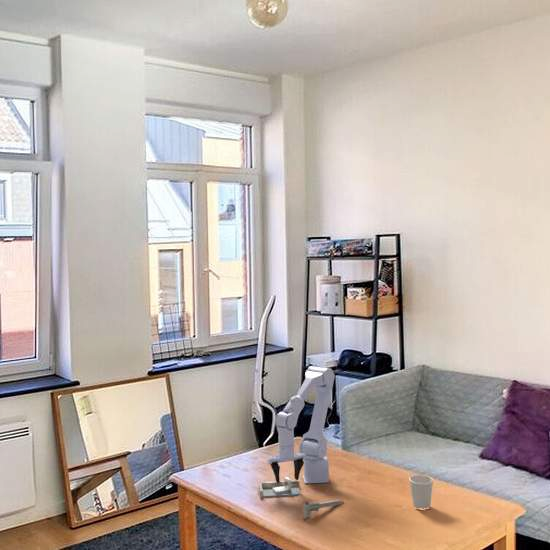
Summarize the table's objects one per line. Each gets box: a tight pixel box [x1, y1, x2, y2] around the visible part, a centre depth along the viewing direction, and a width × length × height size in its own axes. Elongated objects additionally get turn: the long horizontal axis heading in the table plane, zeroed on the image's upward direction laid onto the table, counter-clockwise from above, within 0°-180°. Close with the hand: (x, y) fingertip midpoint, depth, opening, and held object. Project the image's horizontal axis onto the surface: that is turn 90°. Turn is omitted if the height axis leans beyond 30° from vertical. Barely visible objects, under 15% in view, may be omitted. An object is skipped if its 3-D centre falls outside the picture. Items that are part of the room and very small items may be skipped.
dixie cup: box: [408, 474, 435, 509], centre depth 230 cm, size 8×8×10 cm
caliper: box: [302, 499, 344, 520], centre depth 229 cm, size 20×1×6 cm, turn 135°
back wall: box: [259, 479, 301, 488], centre depth 251 cm, size 15×1×2 cm, turn 95°
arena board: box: [262, 486, 302, 498], centre depth 247 cm, size 14×8×1 cm, turn 95°
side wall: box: [258, 482, 263, 499], centre depth 246 cm, size 1×8×2 cm, turn 6°
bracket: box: [272, 476, 292, 494], centre depth 246 cm, size 6×4×4 cm, turn 109°
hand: (287, 480), depth 247 cm, fingers open, 7 cm apart
